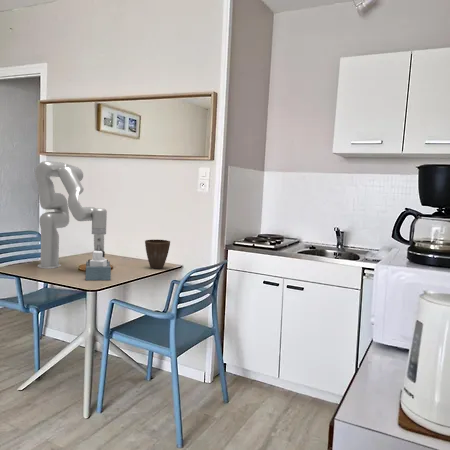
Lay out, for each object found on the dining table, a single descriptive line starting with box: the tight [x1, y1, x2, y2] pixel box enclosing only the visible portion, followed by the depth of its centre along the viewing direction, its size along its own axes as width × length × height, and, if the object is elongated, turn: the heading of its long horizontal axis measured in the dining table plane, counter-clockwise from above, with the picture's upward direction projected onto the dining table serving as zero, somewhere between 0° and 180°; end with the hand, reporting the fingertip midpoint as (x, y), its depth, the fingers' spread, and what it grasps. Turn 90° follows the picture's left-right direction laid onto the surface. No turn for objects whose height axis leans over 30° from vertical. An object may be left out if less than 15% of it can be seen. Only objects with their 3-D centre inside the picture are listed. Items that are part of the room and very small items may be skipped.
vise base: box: [85, 265, 112, 281], centre depth 225 cm, size 25×12×6 cm, turn 18°
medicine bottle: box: [89, 250, 108, 266], centre depth 222 cm, size 7×7×12 cm
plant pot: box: [144, 239, 171, 270], centre depth 253 cm, size 15×15×16 cm
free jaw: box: [85, 259, 111, 267], centre depth 227 cm, size 3×12×6 cm, turn 108°
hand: (97, 264), depth 231 cm, fingers closed
